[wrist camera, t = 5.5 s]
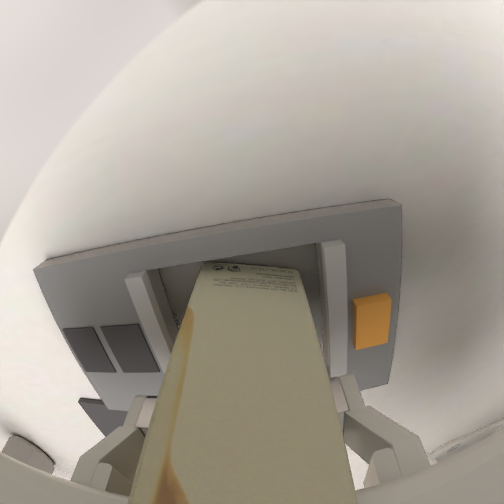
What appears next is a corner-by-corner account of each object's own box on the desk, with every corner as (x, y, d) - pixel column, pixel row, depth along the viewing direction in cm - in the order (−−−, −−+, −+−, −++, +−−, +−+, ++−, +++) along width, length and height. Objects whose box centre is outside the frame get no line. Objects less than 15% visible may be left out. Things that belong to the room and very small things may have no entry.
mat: (192, 402, 16) (191, 407, 16) (226, 465, 19) (226, 469, 19) (80, 398, 17) (78, 401, 16) (131, 460, 20) (130, 463, 20)
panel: (389, 198, 12) (408, 208, 10) (381, 369, 15) (391, 390, 13) (45, 260, 13) (26, 274, 11) (114, 396, 16) (105, 416, 15)
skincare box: (200, 258, 13) (89, 584, 1) (301, 266, 13) (388, 594, 1) (201, 368, 15) (162, 591, 4) (282, 373, 15) (299, 598, 4)
